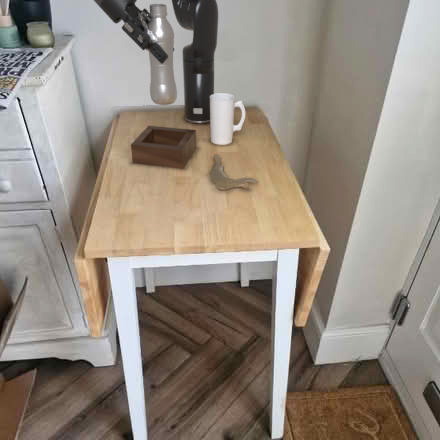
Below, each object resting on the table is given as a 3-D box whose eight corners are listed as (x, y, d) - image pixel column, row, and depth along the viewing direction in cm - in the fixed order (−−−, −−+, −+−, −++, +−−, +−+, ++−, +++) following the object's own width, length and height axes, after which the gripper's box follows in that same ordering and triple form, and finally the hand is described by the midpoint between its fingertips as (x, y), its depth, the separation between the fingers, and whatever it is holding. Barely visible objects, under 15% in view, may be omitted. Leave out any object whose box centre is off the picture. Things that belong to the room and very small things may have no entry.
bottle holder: (150, 143, 121) (148, 125, 118) (196, 148, 119) (196, 130, 116) (133, 163, 111) (130, 144, 108) (183, 168, 109) (182, 149, 106)
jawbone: (226, 200, 98) (226, 191, 97) (187, 166, 112) (186, 159, 110) (259, 188, 101) (259, 180, 100) (217, 157, 115) (216, 149, 113)
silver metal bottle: (155, 109, 100) (147, 8, 87) (147, 100, 105) (138, 3, 92) (181, 106, 102) (177, 7, 89) (172, 97, 107) (167, 2, 94)
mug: (211, 146, 120) (211, 101, 112) (208, 136, 125) (208, 93, 117) (246, 144, 121) (249, 100, 113) (241, 135, 126) (243, 92, 118)
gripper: (109, -21, 83) (173, 51, 89) (130, -28, 93) (185, 37, 100) (88, 11, 86) (150, 77, 93) (110, 0, 97) (165, 61, 104)
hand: (168, 56), depth 97 cm, fingers closed on silver metal bottle, 6 cm apart
